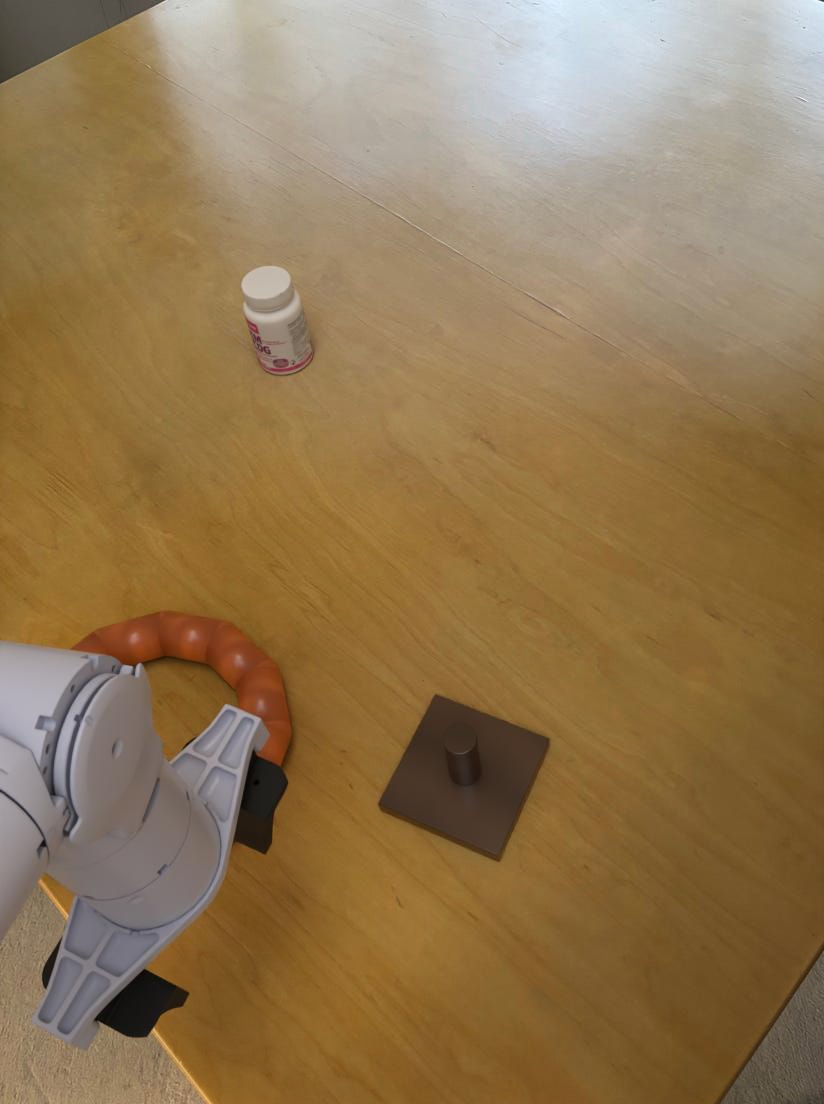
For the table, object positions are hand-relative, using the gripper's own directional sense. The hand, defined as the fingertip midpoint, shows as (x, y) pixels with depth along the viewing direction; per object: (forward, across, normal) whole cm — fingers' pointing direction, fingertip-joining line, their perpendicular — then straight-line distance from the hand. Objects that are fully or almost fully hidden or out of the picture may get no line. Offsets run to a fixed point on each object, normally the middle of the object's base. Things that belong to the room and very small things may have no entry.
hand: (212, 913), depth 53 cm
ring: (+9, -8, -13) cm, 18 cm away
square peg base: (+10, -14, +6) cm, 19 cm away
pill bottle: (+12, -42, -24) cm, 50 cm away
